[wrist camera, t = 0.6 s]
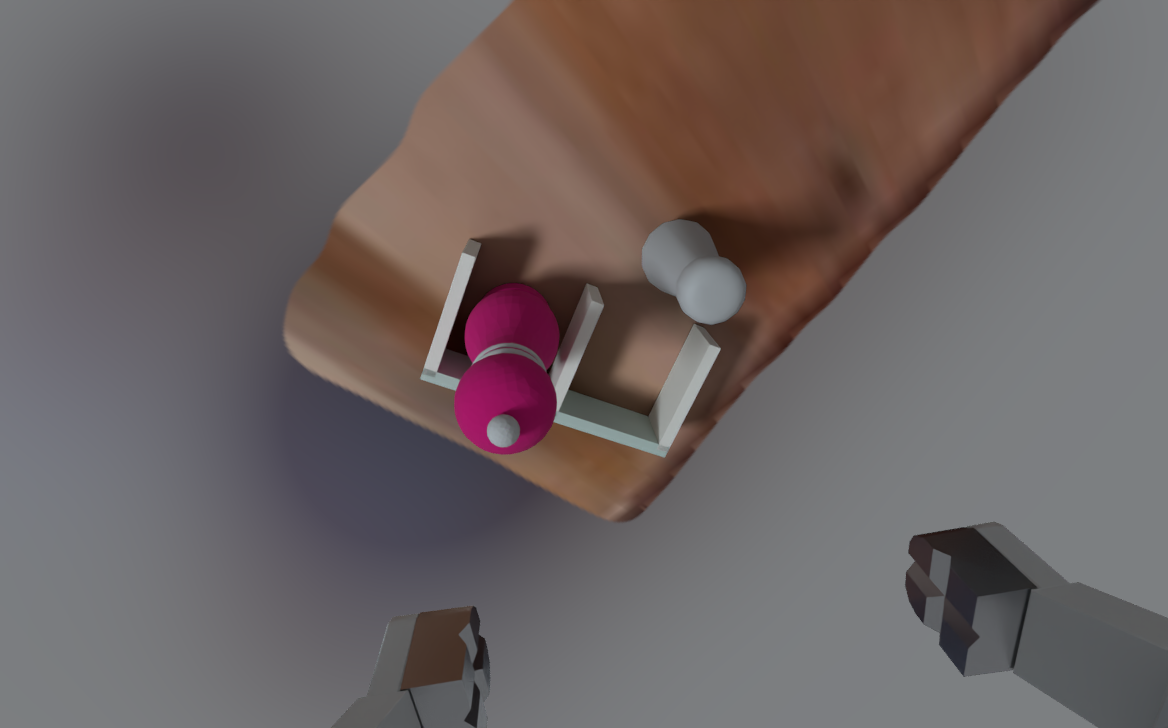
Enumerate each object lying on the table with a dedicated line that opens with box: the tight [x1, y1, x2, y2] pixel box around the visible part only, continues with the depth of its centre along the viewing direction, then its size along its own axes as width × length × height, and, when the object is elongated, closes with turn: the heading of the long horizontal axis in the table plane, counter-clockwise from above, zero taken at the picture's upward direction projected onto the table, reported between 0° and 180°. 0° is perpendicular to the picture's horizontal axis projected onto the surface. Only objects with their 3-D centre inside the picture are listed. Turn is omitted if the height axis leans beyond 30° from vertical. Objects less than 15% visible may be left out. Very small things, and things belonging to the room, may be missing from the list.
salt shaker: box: [642, 219, 746, 325], centre depth 42 cm, size 6×6×13 cm
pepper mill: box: [454, 283, 559, 454], centre depth 40 cm, size 7×7×20 cm
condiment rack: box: [420, 239, 721, 457], centre depth 48 cm, size 10×21×5 cm, turn 68°
